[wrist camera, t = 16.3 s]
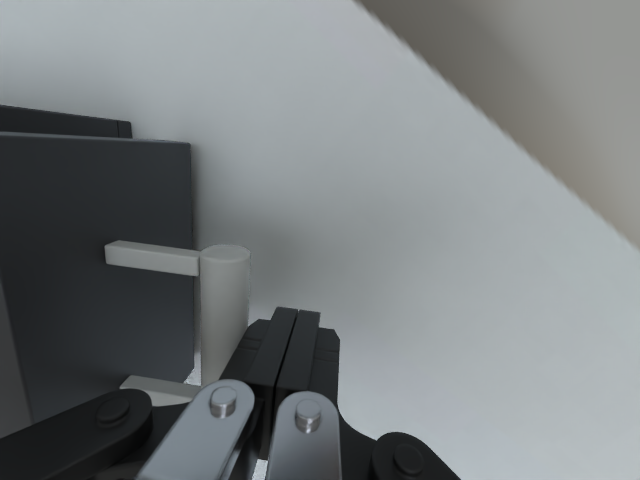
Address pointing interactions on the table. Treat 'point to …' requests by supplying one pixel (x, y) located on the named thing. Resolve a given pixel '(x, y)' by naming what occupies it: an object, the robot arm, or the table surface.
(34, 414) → the cabinet drawer
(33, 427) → the robot arm
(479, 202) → the table surface
